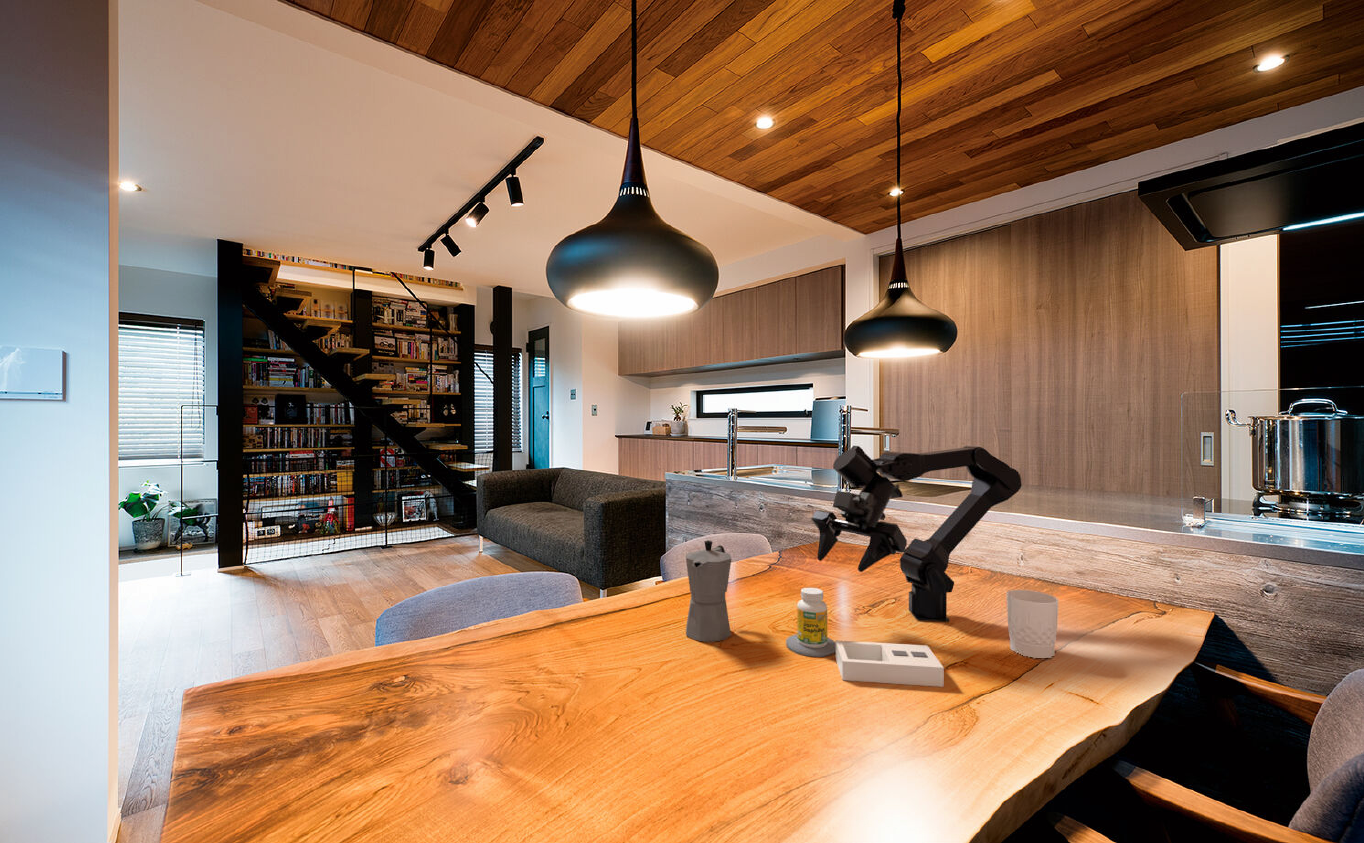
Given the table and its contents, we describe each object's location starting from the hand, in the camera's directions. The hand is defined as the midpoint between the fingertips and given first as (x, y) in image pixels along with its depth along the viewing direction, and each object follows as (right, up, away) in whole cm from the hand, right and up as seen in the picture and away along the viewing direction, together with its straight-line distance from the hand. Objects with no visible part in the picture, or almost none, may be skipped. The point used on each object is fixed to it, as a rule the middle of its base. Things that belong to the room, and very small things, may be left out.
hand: (838, 565), depth 106 cm
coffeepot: (-25, -14, +2) cm, 28 cm away
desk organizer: (+4, -14, -15) cm, 21 cm away
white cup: (+33, -14, -7) cm, 36 cm away
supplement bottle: (-6, -13, -5) cm, 15 cm away
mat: (-6, -14, -5) cm, 16 cm away
